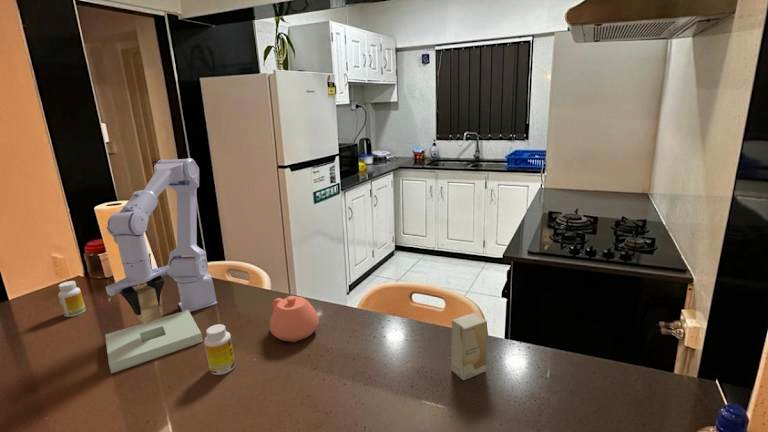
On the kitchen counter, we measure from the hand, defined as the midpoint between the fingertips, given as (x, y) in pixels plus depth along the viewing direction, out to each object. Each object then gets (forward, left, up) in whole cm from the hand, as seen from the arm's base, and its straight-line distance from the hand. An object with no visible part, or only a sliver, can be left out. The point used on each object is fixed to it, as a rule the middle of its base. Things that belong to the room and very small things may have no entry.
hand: (147, 309), depth 105 cm
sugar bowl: (-30, +19, -10) cm, 37 cm away
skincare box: (-53, +59, -10) cm, 80 cm away
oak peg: (0, 0, -2) cm, 2 cm away
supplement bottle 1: (+17, -35, -10) cm, 40 cm away
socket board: (0, 0, -9) cm, 9 cm away
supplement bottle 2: (-11, +23, -10) cm, 27 cm away
